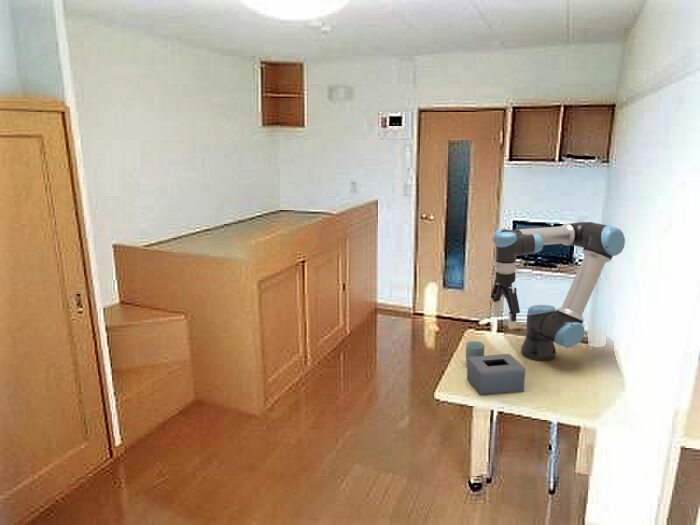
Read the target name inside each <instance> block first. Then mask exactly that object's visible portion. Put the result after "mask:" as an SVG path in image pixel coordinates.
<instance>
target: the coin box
mask: <svg viewBox="0 0 700 525" xmlns="http://www.w3.org/2000/svg"><path fill="white" fill-rule="evenodd" d="M466 368H467V370H466V371H467V372H466V380H467V382H469V384H470V385H471V386H472V387H473V389H474V391H476V393H477V394H478V396H481V397H482V396H491V395H493V396H494V395H501V394H502V395H504V394H513V393H514V394H515V393H524V390H525V377H526V376H525V375H526V367H524V366H523V365H522V364H521V363H520V362H519V361H518V360H517V359H516V358H514V356H512V355H511V354H510V353H502V354H491V355H489V354H488V355H484V356H476V357H468V364H467V367H466Z"/></svg>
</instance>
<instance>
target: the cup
mask: <svg viewBox="0 0 700 525" xmlns="http://www.w3.org/2000/svg"><path fill="white" fill-rule="evenodd" d="M476 356H485V344H484V343H483V342H481V341H478V340H471V341H470V340H469V341H467V342H466V344H465V360H466V364H467V365H468V357H476Z"/></svg>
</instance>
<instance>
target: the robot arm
mask: <svg viewBox="0 0 700 525" xmlns="http://www.w3.org/2000/svg"><path fill="white" fill-rule="evenodd" d="M492 240H493V243H494V244H495V264H494V265H495V266H494V267H495V271H496V272H495V277H494V278H495V279H494V282H493V288H492V291H491V294H490V299H492V304H493V306H492V307H493V308H492V317H493V318H498V317H501V298H502V296H503V297H504V298H505V300H506V304H507V306H508V309H509V312H508V330H511V329H512V330H513V329H516V328H517V314H520V313H521V310H520V306H519V305H520V304H519V299H518V294H517V287H513V283H515V282H516V270H517V269H516V268H517V264H516V263H517V257H518V256H526V255H533V254H537V253H539V252H541V251H543V249H544V246H549V245H550V246H551V245H560V244H561V245H564V246H574V247H579V248H583V249H582V254H583V255H584V256H583V258H582V261H581V262H580V266H579V267H578V268H577V271H576V274H575V276H574V279H573V281H572V282H571V284H570V287H569V290H568V292H567V294H566V296H565V299H564V301H563V303H562V305H561V307H559V308H556V307H555V306H553V305H549V304H548V305H546V304H536V305H531V306H529V307H528V310H527V314H526V328H525V329H526V330H525V338H524V340H523V343H522V345H521V348H520V355H522V356H523V357H525V358H527V359H530V360H534V361H539V362H547V361H552V360H555V358H556V357H557V356H556V355H557V351H556V350H557V349H556V346H555V344H556V345H559V346H562V347H564V348H573V347H575V346H577V345H578V344H580V343H581V341H583V338H584V337H585V333H586V331H585V327H584V325H583V324H584V321H585V320H584V317H583V314H584V311H585V310H586V307H587V305H588V302H589V301H590V298H591V296H592V294H593V292H594V289H595V287H596V284H597V283H598V280H599V278H600V276H601V274H602V272H603V269H604V267H605V264H606V263H609V262H611V261H612V259H613V257H614V256H615V257H616V256H618V255H619V254H621V253H622V252H623V250H624V248H625V244H626V239H625V234H624V232H623V231H622V230H621V229H620V228H618V227H616V226H612V225H610V224H602V223H597V222H596V223H595V222H591V221H583V222H582V221H581V222H580V221H579V222H572V223H571V222H570V223H564V224H562V225H560V226H550V227H549V226H548V227H531V228H520V229H519V228H517V229H506V228H498V229H497V230H495V232H494V233H493V237H492Z"/></svg>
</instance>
